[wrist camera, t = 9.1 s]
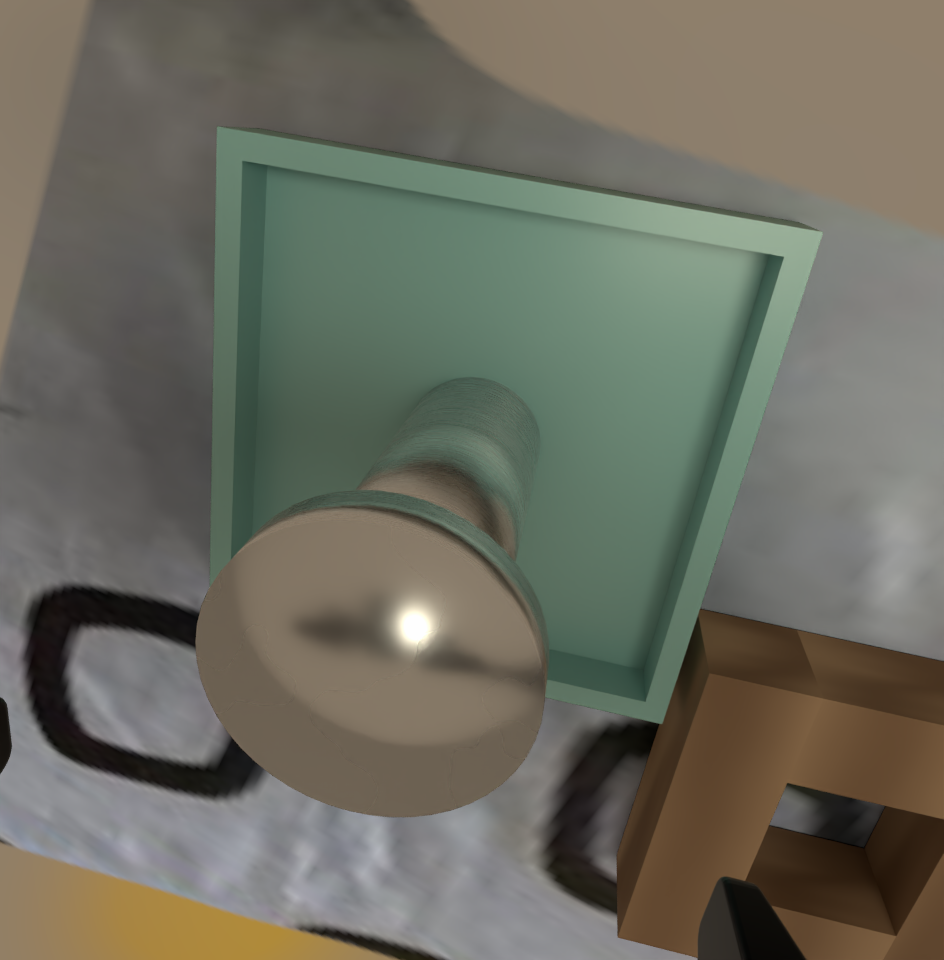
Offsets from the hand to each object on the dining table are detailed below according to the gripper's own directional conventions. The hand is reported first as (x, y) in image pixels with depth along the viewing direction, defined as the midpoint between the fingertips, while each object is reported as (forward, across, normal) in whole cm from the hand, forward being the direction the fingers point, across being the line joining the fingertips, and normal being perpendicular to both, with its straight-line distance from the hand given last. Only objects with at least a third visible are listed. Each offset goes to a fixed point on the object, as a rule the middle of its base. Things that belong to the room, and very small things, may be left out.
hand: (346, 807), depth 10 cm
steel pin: (+12, 0, 0) cm, 12 cm away
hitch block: (+13, -12, +9) cm, 19 cm away
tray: (+13, 0, 0) cm, 13 cm away
